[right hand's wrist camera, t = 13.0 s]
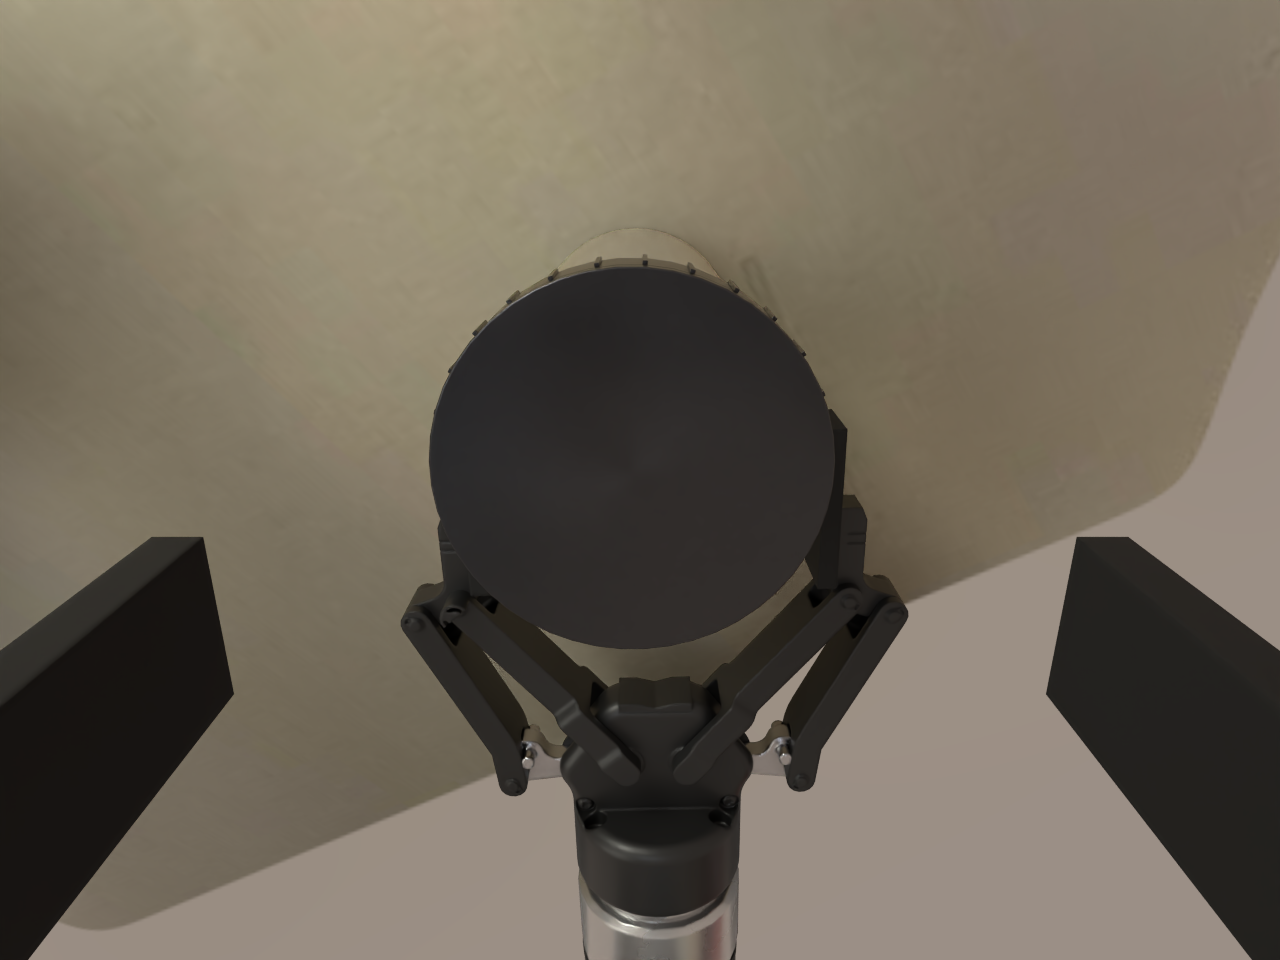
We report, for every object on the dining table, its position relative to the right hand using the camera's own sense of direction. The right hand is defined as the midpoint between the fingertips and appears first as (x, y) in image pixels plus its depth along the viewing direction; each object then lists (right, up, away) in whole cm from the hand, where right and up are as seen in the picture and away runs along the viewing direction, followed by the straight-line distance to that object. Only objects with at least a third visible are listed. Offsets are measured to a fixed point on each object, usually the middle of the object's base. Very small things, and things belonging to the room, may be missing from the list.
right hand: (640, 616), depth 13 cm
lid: (0, +2, +7) cm, 7 cm away
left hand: (0, +4, +19) cm, 20 cm away
